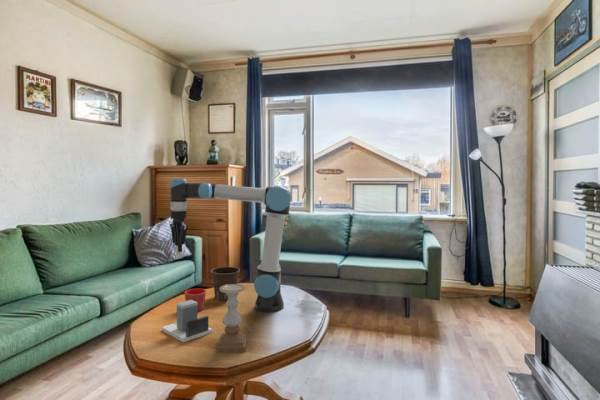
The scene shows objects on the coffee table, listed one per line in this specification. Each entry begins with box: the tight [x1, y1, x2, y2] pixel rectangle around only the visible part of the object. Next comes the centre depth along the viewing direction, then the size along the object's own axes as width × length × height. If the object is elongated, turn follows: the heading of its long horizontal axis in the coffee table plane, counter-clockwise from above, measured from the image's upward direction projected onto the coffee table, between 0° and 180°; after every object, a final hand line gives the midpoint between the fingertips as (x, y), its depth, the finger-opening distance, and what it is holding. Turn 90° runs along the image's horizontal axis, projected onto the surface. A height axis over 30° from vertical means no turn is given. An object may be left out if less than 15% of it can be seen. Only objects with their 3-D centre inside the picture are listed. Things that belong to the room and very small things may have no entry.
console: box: [161, 315, 213, 343], centre depth 157 cm, size 18×14×8 cm
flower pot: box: [184, 288, 207, 313], centre depth 184 cm, size 11×11×10 cm
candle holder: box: [216, 283, 248, 354], centre depth 142 cm, size 11×11×24 cm
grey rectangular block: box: [175, 300, 198, 331], centre depth 157 cm, size 5×7×11 cm
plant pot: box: [210, 266, 241, 302], centre depth 204 cm, size 16×16×16 cm
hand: (178, 258), depth 175 cm, fingers closed
